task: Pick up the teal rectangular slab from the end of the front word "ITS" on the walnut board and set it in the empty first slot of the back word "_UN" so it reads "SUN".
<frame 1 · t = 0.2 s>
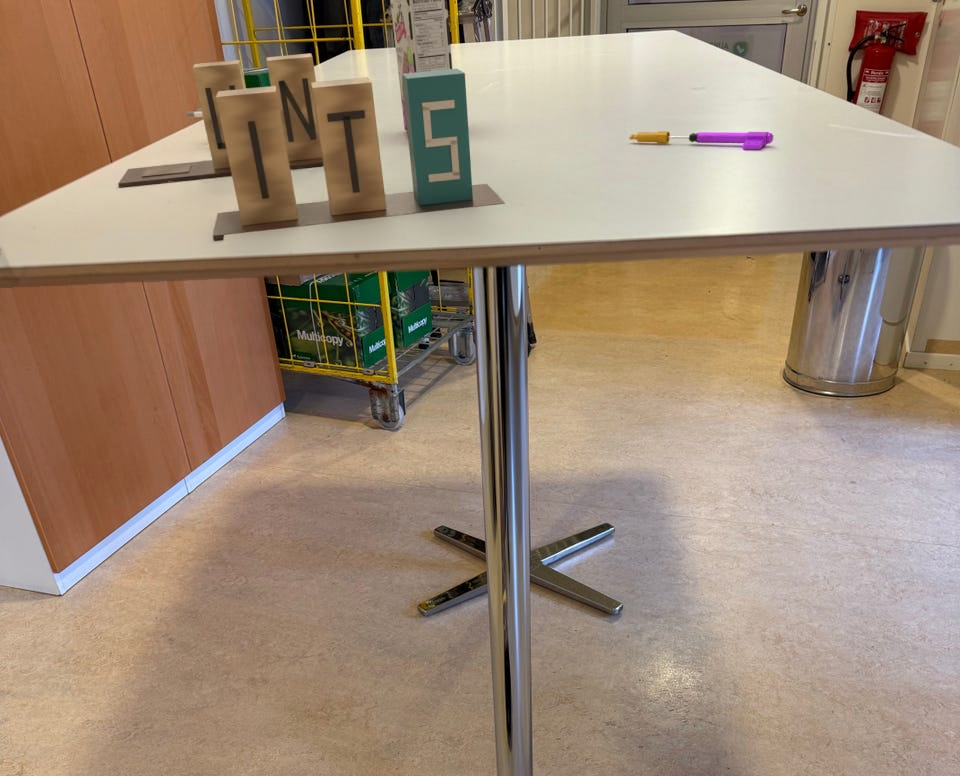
front word: (358, 212, 85), on the table
teal rectangular slab: (443, 198, 85), resting on front word
power adapter: (235, 142, 124), on the table
back word: (237, 167, 107), on the table
marker pen: (696, 147, 100), on the table
candy bar box: (429, 137, 117), on the table
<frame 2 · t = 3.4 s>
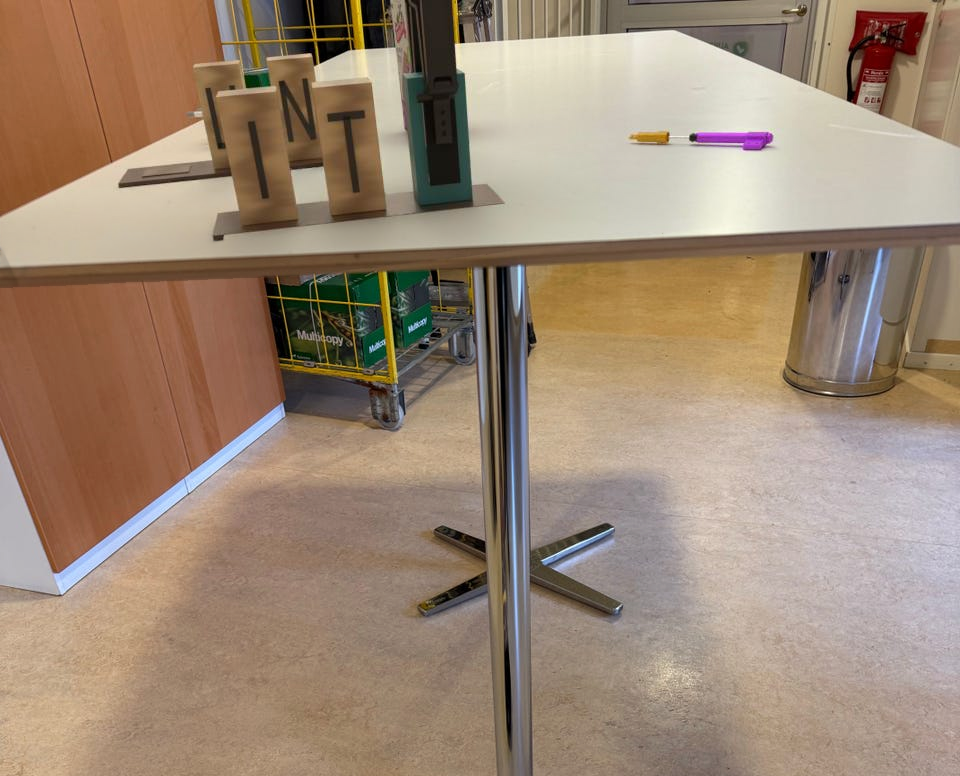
hand: (441, 177, 84), 2 cm above the table, tool pointing down, fingers closed on teal rectangular slab, 4 cm apart
teal rectangular slab: (442, 198, 85), resting on front word, touching gripper
everything else where it was.
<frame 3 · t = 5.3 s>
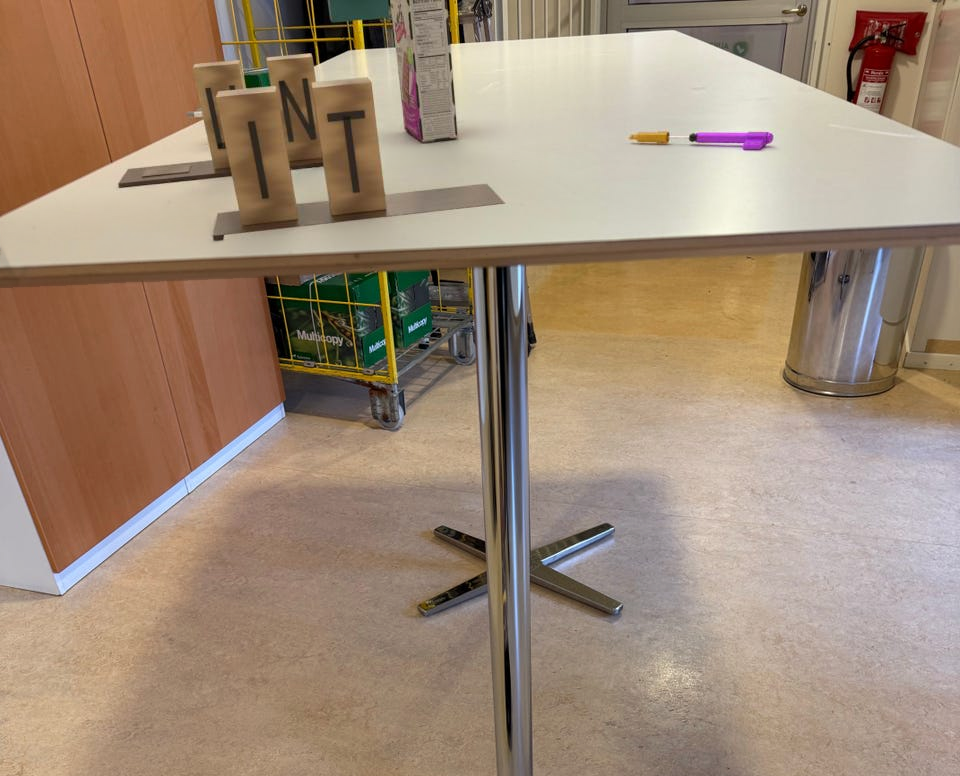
teal rectangular slab: (359, 18, 81), point 14 cm above the table, touching gripper
everything else where it was.
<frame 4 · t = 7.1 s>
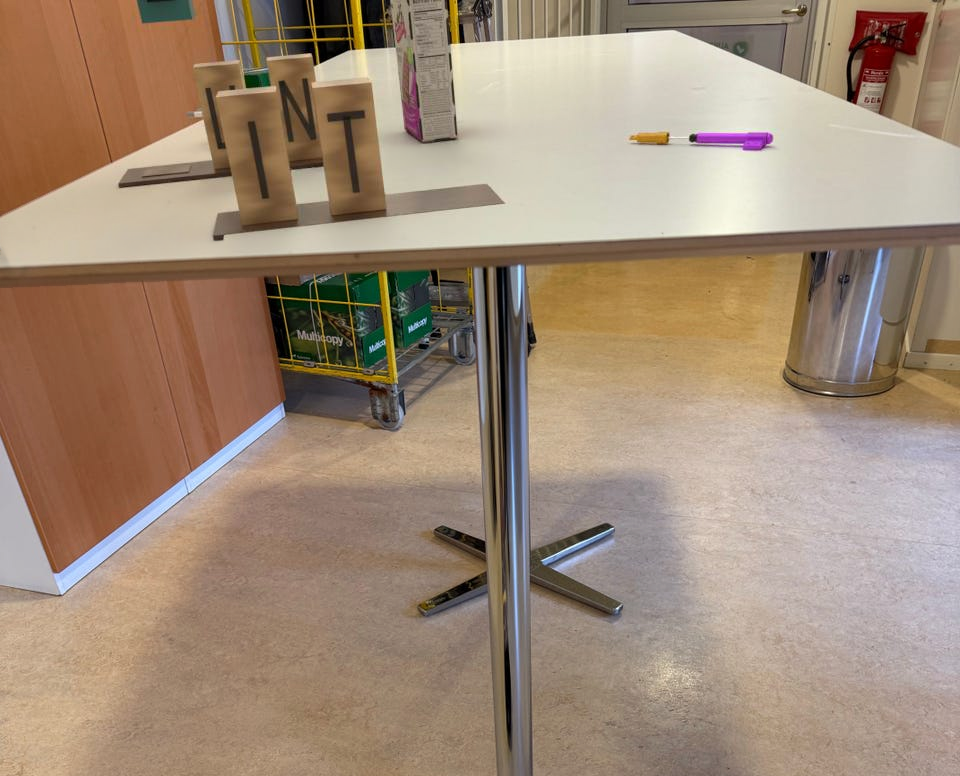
teal rectangular slab: (169, 20, 94), point 15 cm above the table, touching gripper
everything else where it was.
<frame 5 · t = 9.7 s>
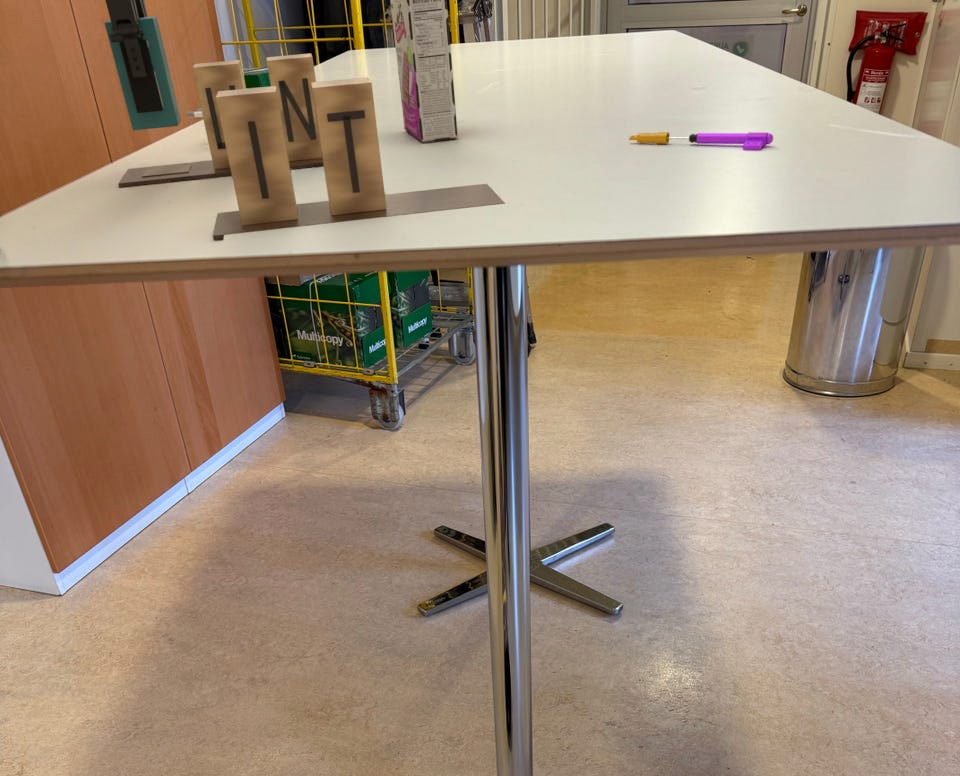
hand: (152, 108, 102), 7 cm above the table, tool pointing down, fingers closed on teal rectangular slab, 4 cm apart
teal rectangular slab: (157, 125, 103), point 5 cm above the table, touching gripper
everything else where it was.
when the fingers open (2 cm above the table, at t = 11.1 s): teal rectangular slab stays where it is, resting on back word.
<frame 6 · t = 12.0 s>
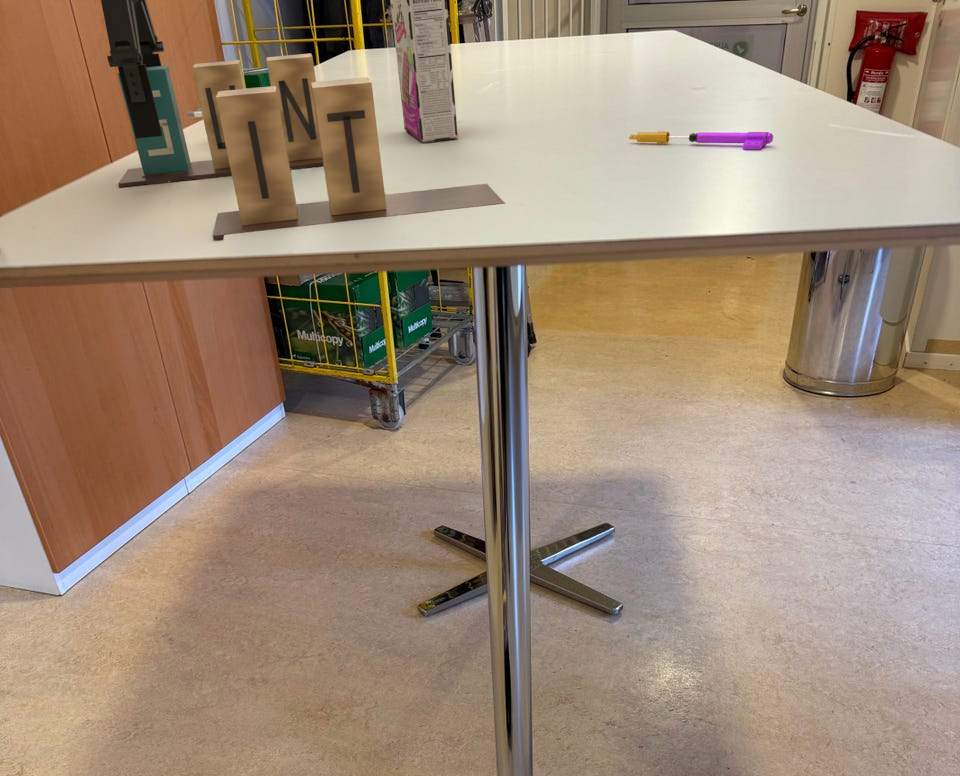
hand: (155, 128, 103), 5 cm above the table, tool pointing down, fingers open, 13 cm apart
teal rectangular slab: (168, 170, 106), resting on back word
everything else where it was.
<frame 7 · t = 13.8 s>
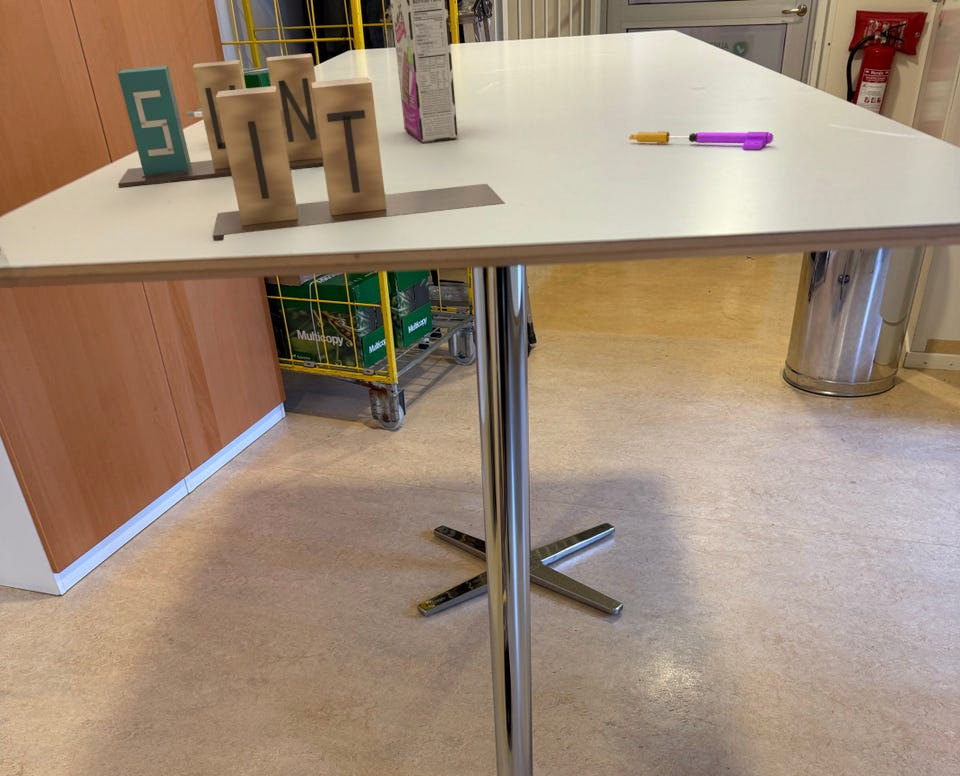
nothing on the table moved.
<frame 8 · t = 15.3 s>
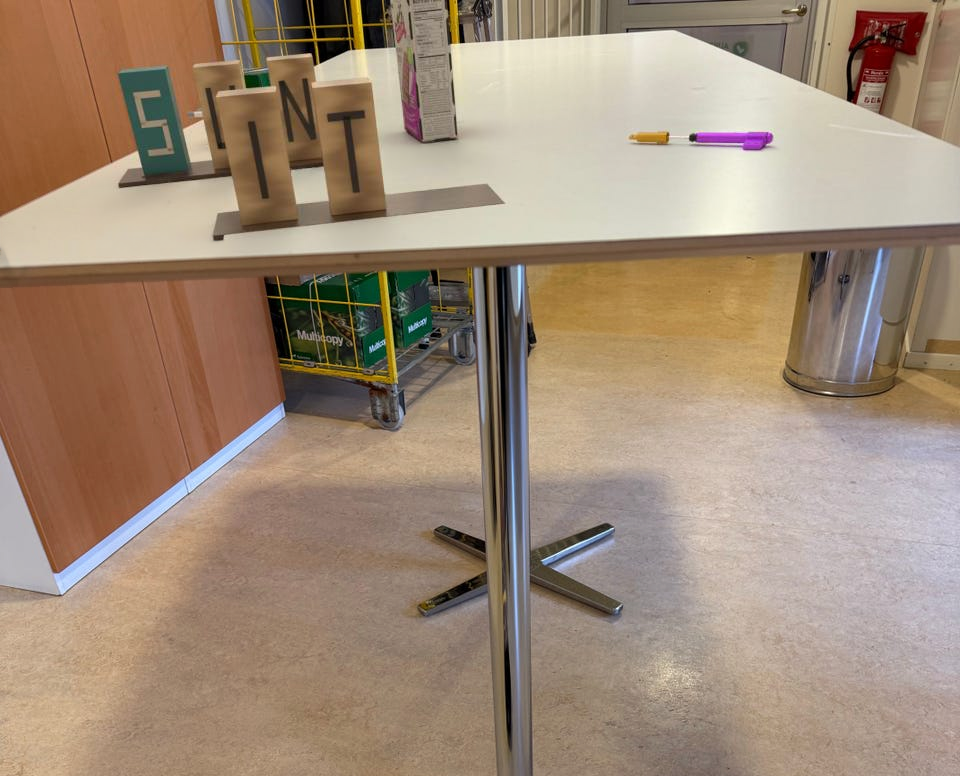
nothing on the table moved.
at the end: teal rectangular slab 0.1 cm from the target spot on the back word, point 0.5 cm above the back word's base; teal rectangular slab tilted 0°; the gripper is holding nothing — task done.
